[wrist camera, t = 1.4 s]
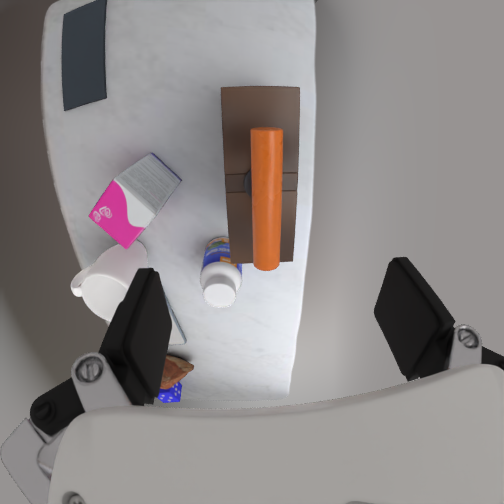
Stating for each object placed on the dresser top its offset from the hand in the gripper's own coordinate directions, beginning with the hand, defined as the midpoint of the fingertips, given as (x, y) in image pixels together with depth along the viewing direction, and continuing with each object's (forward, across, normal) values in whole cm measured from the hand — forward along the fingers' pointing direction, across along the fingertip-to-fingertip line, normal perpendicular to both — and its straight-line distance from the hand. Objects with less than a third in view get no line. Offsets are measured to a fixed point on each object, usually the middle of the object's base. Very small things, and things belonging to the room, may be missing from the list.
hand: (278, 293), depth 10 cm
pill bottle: (+26, +4, +14) cm, 30 cm away
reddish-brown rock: (+27, +19, +42) cm, 53 cm away
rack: (+26, 0, 0) cm, 26 cm away
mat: (+26, +22, -18) cm, 38 cm away
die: (+27, +21, +52) cm, 62 cm away
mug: (+26, +20, +14) cm, 36 cm away
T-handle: (+22, 0, 0) cm, 23 cm away
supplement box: (+26, +13, +2) cm, 29 cm away
